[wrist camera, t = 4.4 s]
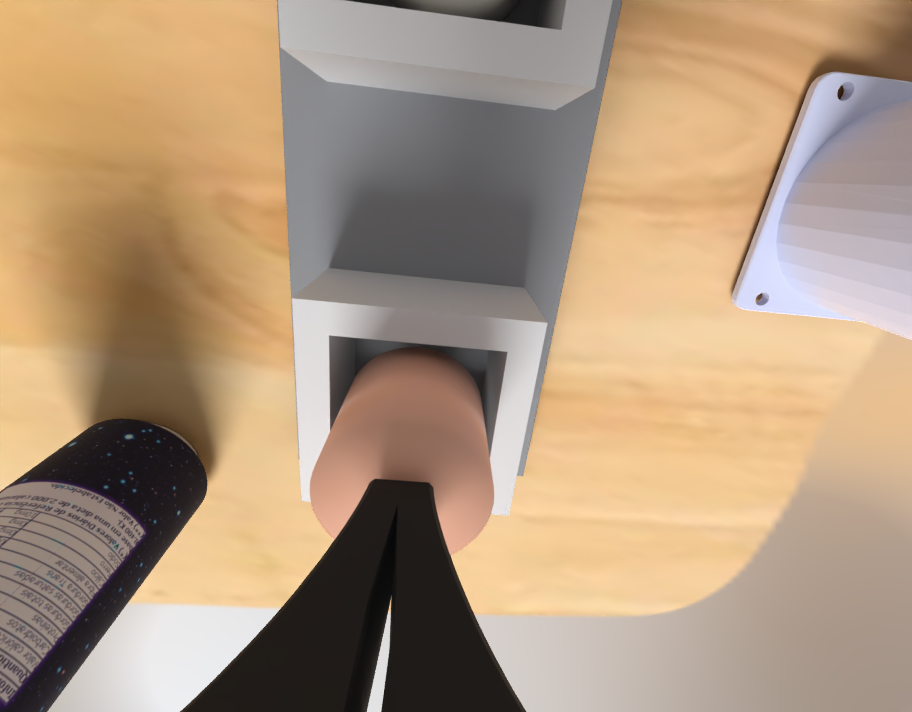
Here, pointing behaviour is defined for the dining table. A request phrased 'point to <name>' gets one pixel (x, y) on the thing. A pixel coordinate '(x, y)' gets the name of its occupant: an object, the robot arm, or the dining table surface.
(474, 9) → the cream plug
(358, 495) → the terracotta plug
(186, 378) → the dining table surface
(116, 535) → the beverage can
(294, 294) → the plug panel
